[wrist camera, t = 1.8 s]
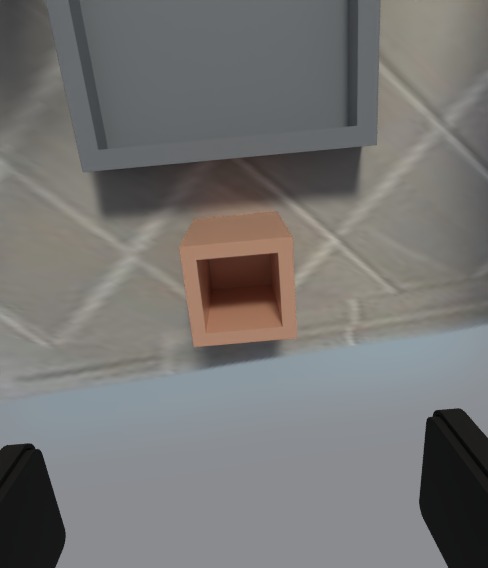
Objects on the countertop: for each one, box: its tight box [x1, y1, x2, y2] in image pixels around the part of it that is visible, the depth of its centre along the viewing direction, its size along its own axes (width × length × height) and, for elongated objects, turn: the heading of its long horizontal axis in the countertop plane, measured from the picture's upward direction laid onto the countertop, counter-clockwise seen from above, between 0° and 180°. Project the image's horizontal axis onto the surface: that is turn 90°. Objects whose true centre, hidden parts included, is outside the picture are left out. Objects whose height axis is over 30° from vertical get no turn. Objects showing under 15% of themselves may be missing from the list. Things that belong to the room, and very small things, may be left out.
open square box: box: [179, 211, 297, 347], centre depth 26 cm, size 6×6×8 cm
